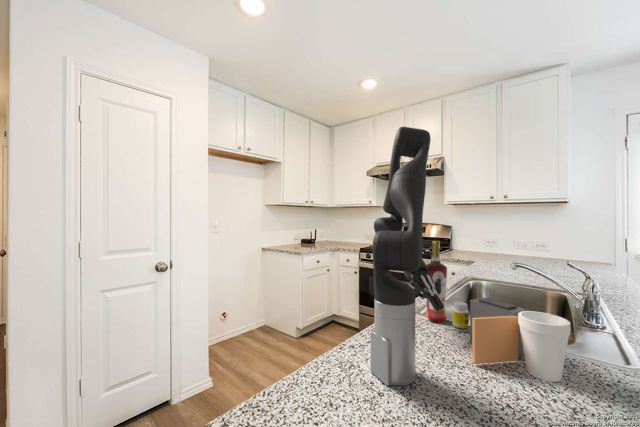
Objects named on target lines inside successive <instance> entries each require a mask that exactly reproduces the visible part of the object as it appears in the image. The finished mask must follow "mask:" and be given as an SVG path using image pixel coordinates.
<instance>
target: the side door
mask: <svg viewBox="0 0 640 427" xmlns="http://www.w3.org/2000/svg"><path fill="white" fill-rule="evenodd" d="M471 343H472V344H471V345H472V347H471V348H472V350H471V351H472V355H471V356H472V359H471V360H472V361H471V362H472V364H474V365H481V364H483V365H484V364H493V363H495V364H496V363H505V362H518V361H519V358H518V317H517V316H498V317H480V318H472V341H471Z"/></svg>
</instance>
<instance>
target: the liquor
mask: <svg viewBox="0 0 640 427" xmlns="http://www.w3.org/2000/svg"><path fill="white" fill-rule="evenodd" d="M431 248H432V249H431V250H432V251H431V260H430V261H431V262H429V263H426V265H427V267H428V273H429V274H431V275H432V278H434V279H436V280H437V279H440V280H441V293H440V294H439V295H438V297H439V299H440V300H441V302H442V303H443V305H444V308H443V309H442V310H439V311H436V310H435V309H434V307H433V306H432V304H431V303H430V301H429V300H427V299H426V313H425V317H426V318H427V319H428V320H429V321H430V320H431V321H430V322H432V321H433V323H437V322H440V323H442V322H444V321H446V320H447V316H446V300H447V298H446V296H447V283H448V282H447V280H448V279H447V278H448V267H447V266H446V265H445V264H443V263H441V255H440V248H441V241H440V240H431Z"/></svg>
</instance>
